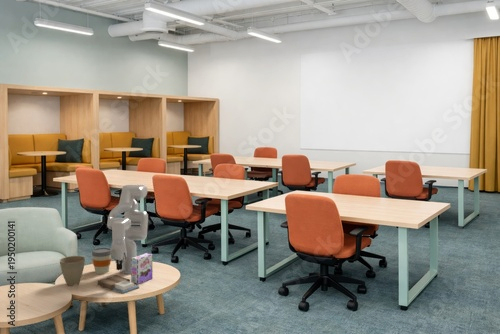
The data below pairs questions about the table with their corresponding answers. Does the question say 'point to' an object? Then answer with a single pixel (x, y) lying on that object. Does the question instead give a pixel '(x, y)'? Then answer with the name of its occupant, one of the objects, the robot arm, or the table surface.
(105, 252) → the reusable coffee cup
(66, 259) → the plant pot
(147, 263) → the candy box
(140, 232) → the robot arm
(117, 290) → the mat
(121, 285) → the tile
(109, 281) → the brown flat square block
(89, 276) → the table surface
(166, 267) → the table surface
